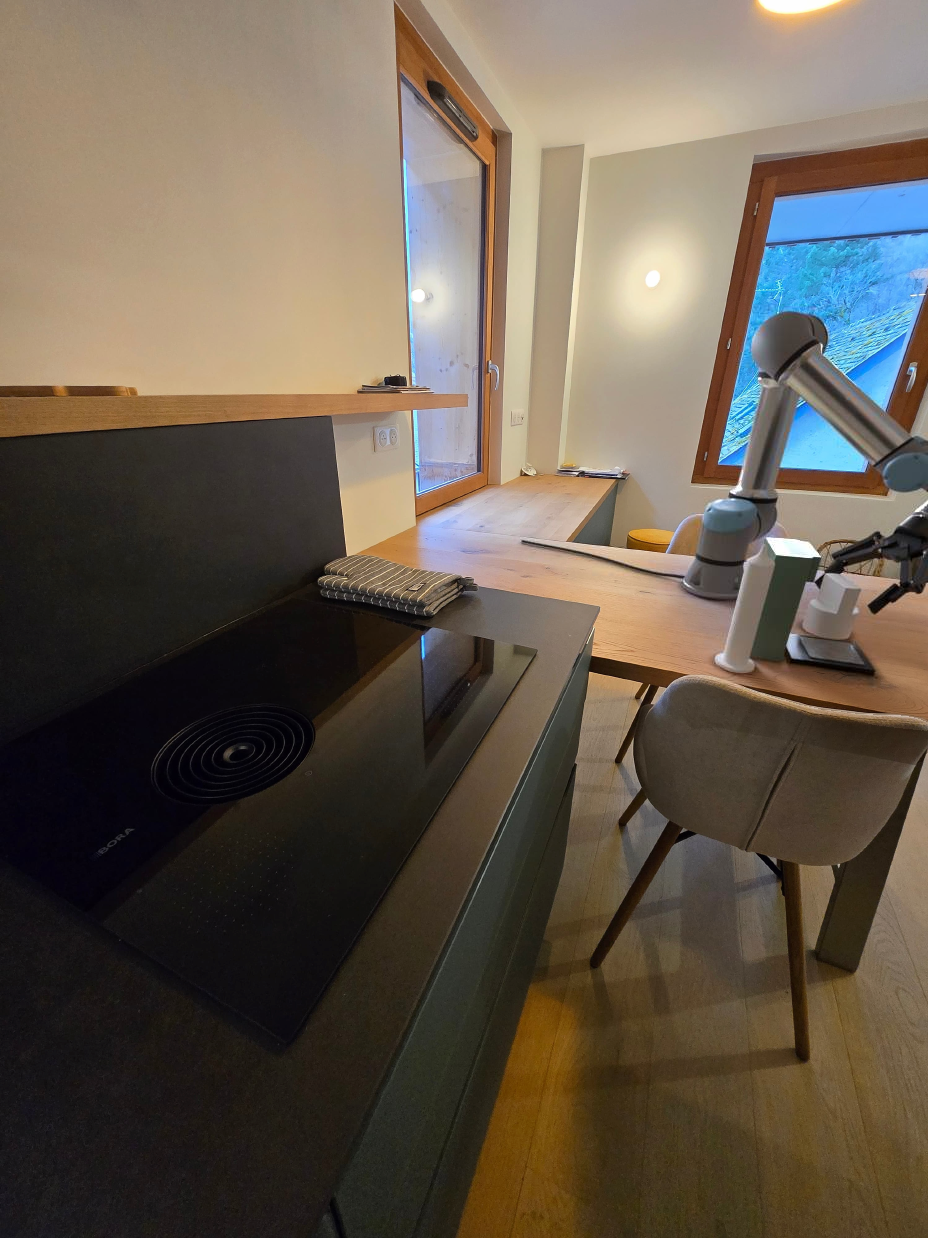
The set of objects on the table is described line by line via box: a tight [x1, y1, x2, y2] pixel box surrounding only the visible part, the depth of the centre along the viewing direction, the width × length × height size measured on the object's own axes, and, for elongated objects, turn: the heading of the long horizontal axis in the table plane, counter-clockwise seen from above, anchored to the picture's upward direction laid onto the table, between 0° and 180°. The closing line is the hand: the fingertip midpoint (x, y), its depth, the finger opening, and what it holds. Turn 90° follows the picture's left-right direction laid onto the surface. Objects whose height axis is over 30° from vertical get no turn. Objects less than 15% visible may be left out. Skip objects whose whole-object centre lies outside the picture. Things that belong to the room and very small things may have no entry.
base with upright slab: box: [801, 573, 862, 640], centre depth 109 cm, size 9×9×12 cm
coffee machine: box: [749, 537, 877, 676], centre depth 98 cm, size 22×12×22 cm, turn 70°
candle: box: [714, 543, 775, 674], centre depth 93 cm, size 7×7×25 cm
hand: (842, 597), depth 108 cm, fingers open, 13 cm apart
